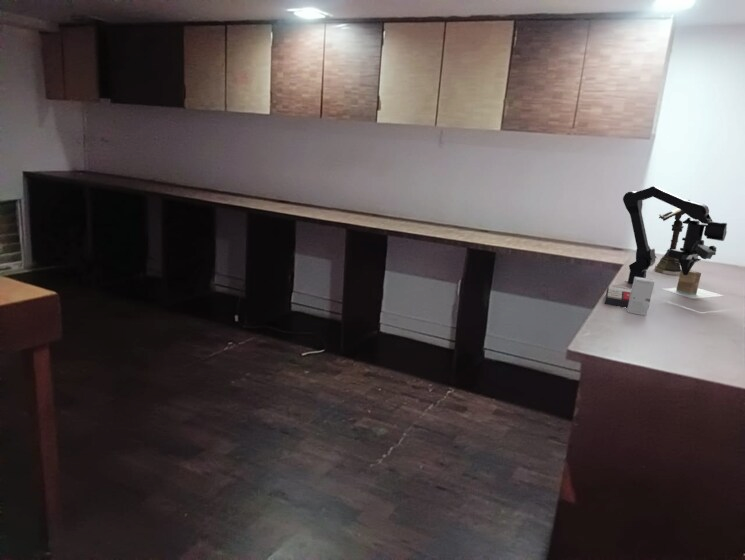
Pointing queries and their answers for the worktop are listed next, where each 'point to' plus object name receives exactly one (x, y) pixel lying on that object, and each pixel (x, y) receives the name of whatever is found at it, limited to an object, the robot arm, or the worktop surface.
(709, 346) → the worktop surface
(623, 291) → the white black red box
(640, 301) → the skincare box
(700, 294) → the white mat
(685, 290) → the wooden block
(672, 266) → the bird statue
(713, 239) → the robot arm
